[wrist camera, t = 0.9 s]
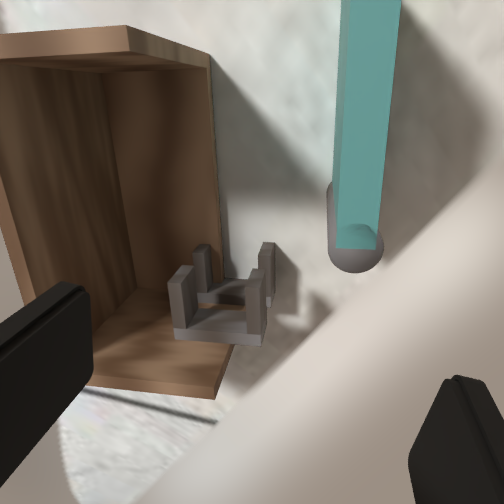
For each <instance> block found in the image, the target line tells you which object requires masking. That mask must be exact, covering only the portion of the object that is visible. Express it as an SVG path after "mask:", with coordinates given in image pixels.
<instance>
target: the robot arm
mask: <svg viewBox="0 0 504 504" xmlns="http://www.w3.org/2000/svg"><path fill="white" fill-rule="evenodd" d="M93 370H94V362H93V342H92V322H91V302H90V295H89V293H87V292H86V290H85V288H84V287H83V286H82V285H78V284H73V283H69V282H65V281H61V282H59V283H57V284H55V285H54V286H53V287H51V288H50V289H48V290H47V291H45V292H44V293H43V294H41V295H40V296H38V297H37V298H36V299H34V300H33V301H31V302H30V303H28V304H27V305H26V306H24V307H23V308H21V309H20V310H19V311H17V312H16V313H14V314H13V315H11V316H10V317H9V318H7V319H6V320H4V321H3V322H2V323H0V487H1V486H2V485H3V484H4V483H5V481H6V480H7V479H8V478H9V476H10V475H11V474H12V473H13V472H14V471H15V469H16V468H17V467H18V466H19V465H20V463H21V462H22V461H23V460H24V459H25V457H26V456H27V455H28V454H29V453H30V451H31V450H32V449H33V447H35V445H36V444H37V443H38V442H39V441H40V439H41V438H42V437H43V436H44V435H45V433H46V432H47V431H48V430H49V429H50V427H51V426H52V425H53V424H54V423H55V421H56V420H57V419H58V418H59V417H60V415H61V414H62V413H63V412H64V411H65V409H66V408H67V407H68V406H69V405H70V403H71V402H72V401H73V400H74V399H75V397H76V396H77V395H78V394H79V393H80V391H81V390H82V389H83V388H84V387H85V385H86V384H87V383H88V382H89V380H90V379H91V377H92V374H93ZM408 467H409V473H410V478H411V483H412V488H413V493H414V498H415V502H416V504H504V419H503V417H502V416H501V414H500V412H499V410H498V408H497V406H496V404H495V402H494V400H493V398H492V396H491V394H490V392H489V390H488V389H487V387H486V385H485V383H484V382H483V381H481V380H477V379H473V378H469V377H464V376H460V375H454V376H453V377H452V378H451V379H445V380H444V381H443V383H442V385H441V387H440V389H439V391H438V393H437V396H436V398H435V400H434V402H433V404H432V406H431V408H430V410H429V412H428V415H427V417H426V419H425V421H424V423H423V425H422V427H421V429H420V432H419V434H418V436H417V438H416V440H415V442H414V444H413V446H412V448H411V450H410V453H409V457H408Z"/></svg>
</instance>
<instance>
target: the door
mask: <svg viewBox="0 0 504 504" xmlns="http://www.w3.org/2000/svg"><path fill="white" fill-rule="evenodd" d="M400 8H401V0H342V1H341V20H340V40H339V59H338V79H337V98H336V118H335V137H334V157H333V176H332V182H331V183H330V184H329V186H328V188H327V230H328V254H329V257H330V259H331V261H332V263H333V264H334V265H335V266H336V267H337V268H339V269H340V270H342V271H345V272H348V273H362V272H365V271H368V270H370V269H371V268H373V267H374V266H375V265H376V264H377V263H378V262H379V261H380V259H381V257H382V255H383V251H384V244H383V240H382V237H381V235H380V232H379V230H378V221H379V211H380V202H381V192H382V182H383V173H384V163H385V153H386V144H387V134H388V124H389V115H390V105H391V95H392V86H393V76H394V66H395V57H396V47H397V37H398V28H399V18H400Z"/></svg>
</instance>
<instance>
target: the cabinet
mask: <svg viewBox="0 0 504 504" xmlns="http://www.w3.org/2000/svg"><path fill="white" fill-rule="evenodd" d="M0 227H1V230H2V234H3V237H4V240H5V244H6V247H7V250H8V253H9V257H10V260H11V263H12V266H13V270H14V273H15V276H16V280H17V283H18V286H19V289H20V293H21V296H22V299H23V302H24V306H26V305H27V304H28V303H30V302H31V301H33V300H34V299H36V298H37V297H38V296H40V295H41V294H43V293H44V292H45V291H47V290H48V289H50V288H51V287H53V286H54V285H55V284H57V283H59V282H61V281H65V282H69V283H73V284H78V285H82V286H83V287H84V288H85V290H86V292H87V293H89V295H90V302H91V322H92V342H93V362H94V370H93V374H92V377H91V379H90V380H89V382H88V383H87V384H86V385H87V386H96V387H105V388H114V389H122V390H131V391H140V392H149V393H158V394H167V395H176V396H185V397H194V398H203V399H212V400H215V398H216V395H217V393H218V390H219V387H220V384H221V381H222V379H223V376H224V373H225V370H226V367H227V365H228V362H229V359H230V356H231V353H232V351H233V348H234V345H235V344H236V345H248V346H260V347H261V345H262V341H263V337H264V333H265V329H266V325H267V307H271V305H272V301H273V297H274V293H275V243H271V242H263V245H262V247H261V249H260V252H259V254H258V269H252V271H251V274H250V276H249V279H248V280H245V279H226V278H224V264H223V249H222V234H221V219H220V204H219V189H218V174H217V160H216V145H215V130H214V115H213V100H212V85H211V70H210V55H209V54H208V53H205V52H202V51H199V50H196V49H193V48H190V47H188V46H185V45H182V44H179V43H176V42H173V41H170V40H168V39H165V38H162V37H159V36H156V35H153V34H150V33H147V32H145V31H142V30H139V29H136V28H133V27H130V26H127V25H119V26H106V27H92V28H78V29H64V30H50V31H37V32H23V33H9V34H0Z"/></svg>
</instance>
